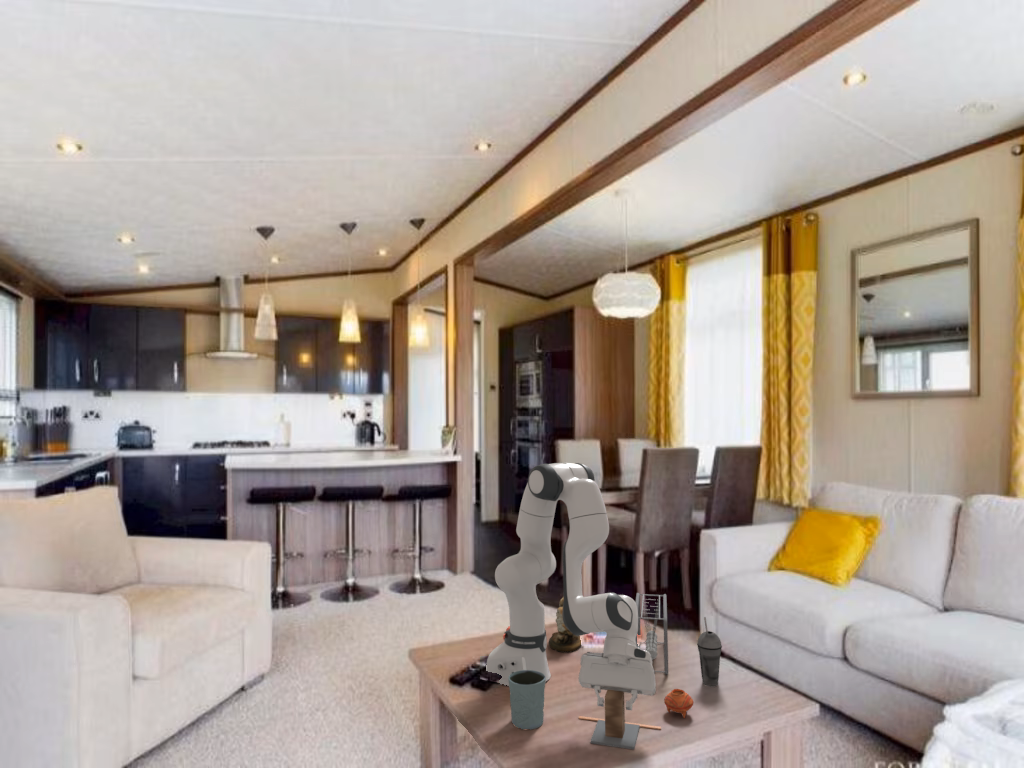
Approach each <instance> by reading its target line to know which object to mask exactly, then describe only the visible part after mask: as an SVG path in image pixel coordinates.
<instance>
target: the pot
mask: <svg viewBox="0 0 1024 768" xmlns="http://www.w3.org/2000/svg"><path fill="white" fill-rule="evenodd" d="M663 701H664V702H663V703H664V705H665V706H666V710H667V712H668V713H671V711H672V712H674V713H676V714H677V713H678V714H679V713H680V714H681V716H682V718H683V719H685V718H686V714H687V711H689V710H691V708H692V707H693V706H694V703H695V702H694V699H693V698H692V696H691V695H690V694H689V693H688V692H686V691H685V690H684V689H679V688H674V689H672V690H671V691H670V692H669V693H668V694H666V696H664V699H663Z"/></svg>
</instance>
